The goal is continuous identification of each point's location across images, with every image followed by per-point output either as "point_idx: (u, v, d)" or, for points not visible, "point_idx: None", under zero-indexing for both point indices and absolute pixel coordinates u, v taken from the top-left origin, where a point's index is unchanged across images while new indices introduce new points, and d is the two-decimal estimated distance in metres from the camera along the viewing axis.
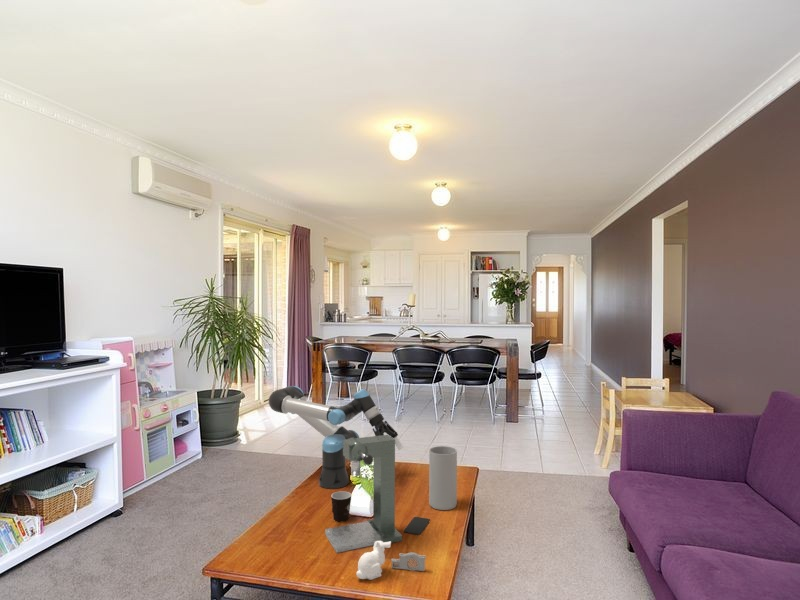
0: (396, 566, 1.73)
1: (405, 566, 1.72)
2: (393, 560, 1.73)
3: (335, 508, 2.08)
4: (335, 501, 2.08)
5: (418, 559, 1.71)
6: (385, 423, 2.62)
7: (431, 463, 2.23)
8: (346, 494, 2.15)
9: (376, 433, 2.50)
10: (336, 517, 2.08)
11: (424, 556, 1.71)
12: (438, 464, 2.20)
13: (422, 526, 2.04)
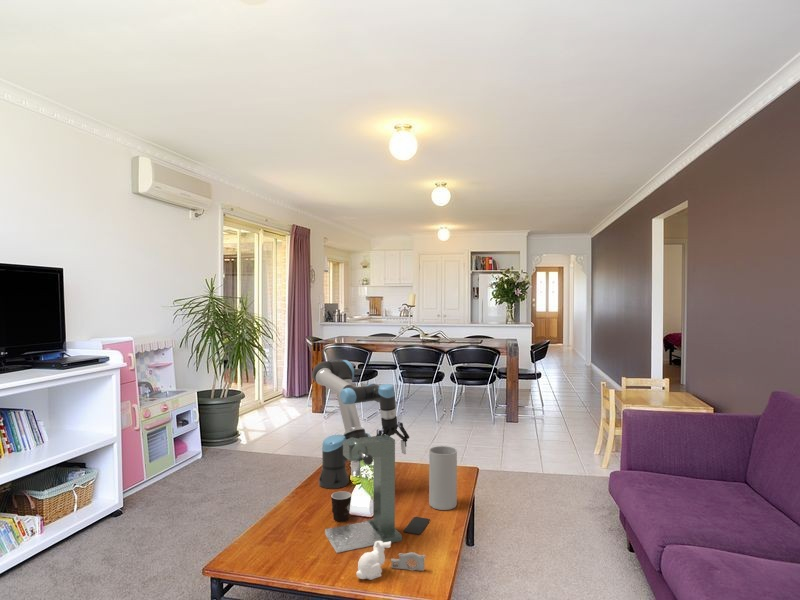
0: (396, 566, 1.73)
1: (405, 566, 1.72)
2: (393, 560, 1.73)
3: (335, 508, 2.08)
4: (335, 501, 2.08)
5: (418, 559, 1.71)
6: (400, 425, 2.42)
7: (431, 463, 2.23)
8: (346, 494, 2.15)
9: None
10: (336, 517, 2.08)
11: (424, 556, 1.71)
12: (438, 464, 2.20)
13: (422, 526, 2.04)
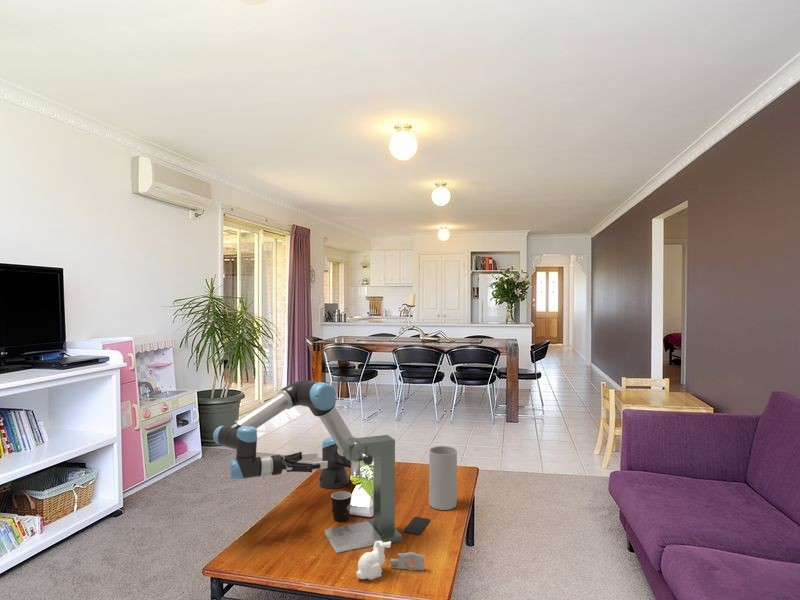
0: (395, 566, 1.73)
1: (404, 566, 1.72)
2: (392, 560, 1.73)
3: (335, 508, 2.08)
4: (335, 501, 2.08)
5: (417, 558, 1.71)
6: None
7: (431, 463, 2.23)
8: (346, 494, 2.15)
9: None
10: (336, 517, 2.08)
11: (423, 555, 1.72)
12: (438, 464, 2.20)
13: (422, 526, 2.04)
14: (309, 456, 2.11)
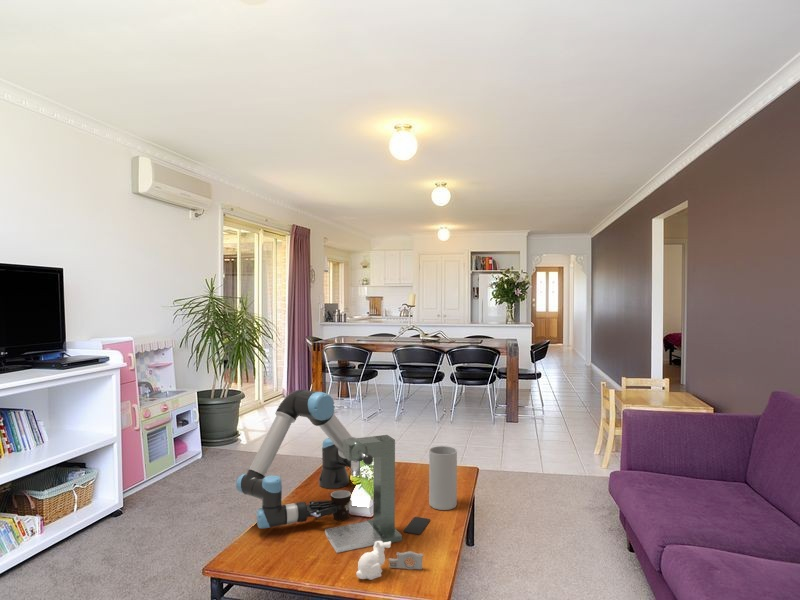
0: (393, 565, 1.73)
1: (403, 565, 1.72)
2: (390, 560, 1.73)
3: None
4: (333, 499, 2.09)
5: (416, 557, 1.72)
6: None
7: (431, 463, 2.23)
8: (347, 493, 2.16)
9: None
10: (335, 515, 2.10)
11: (422, 554, 1.72)
12: (438, 464, 2.20)
13: (422, 526, 2.04)
14: None
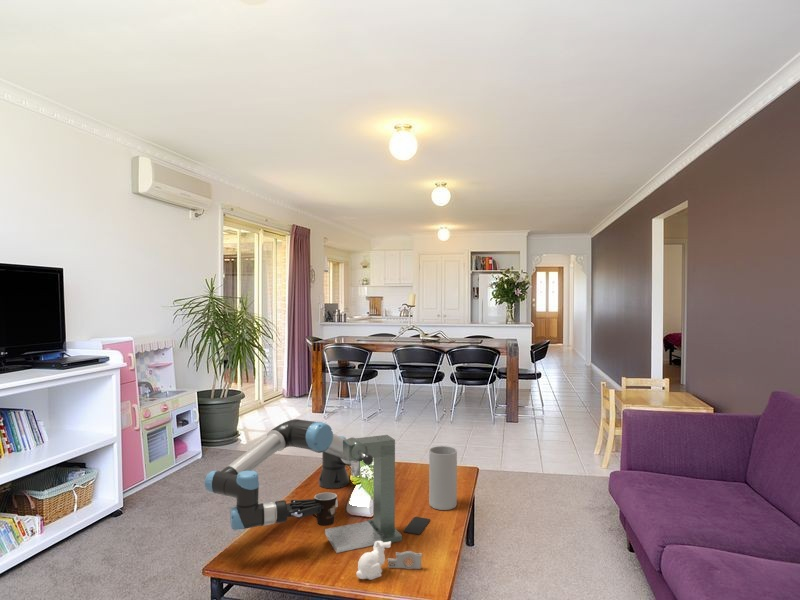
0: (392, 565, 1.73)
1: (402, 565, 1.73)
2: (389, 560, 1.73)
3: None
4: (317, 502, 1.88)
5: (415, 557, 1.72)
6: None
7: (431, 463, 2.23)
8: (333, 496, 1.94)
9: None
10: (318, 520, 1.88)
11: (420, 554, 1.73)
12: (438, 464, 2.20)
13: (422, 526, 2.04)
14: None
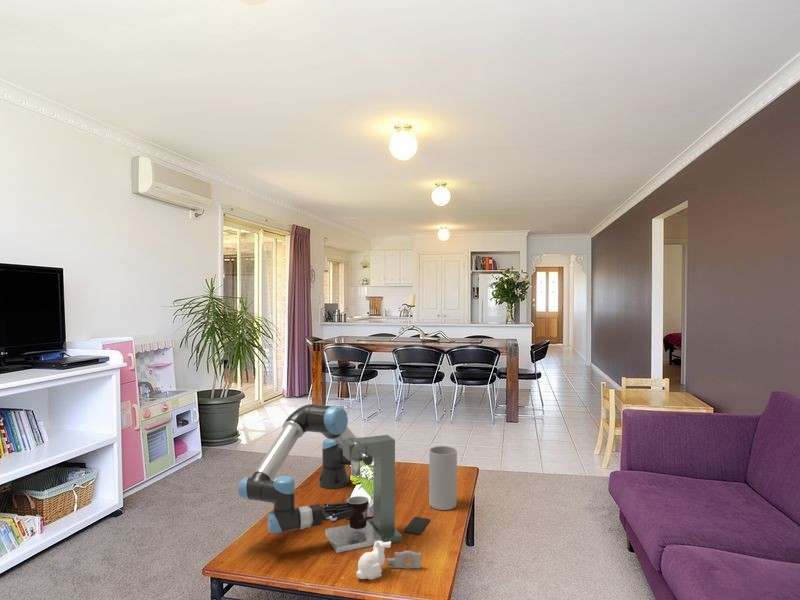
0: (392, 565, 1.73)
1: (401, 565, 1.73)
2: (389, 559, 1.73)
3: None
4: (350, 506, 1.93)
5: (414, 556, 1.73)
6: None
7: (431, 463, 2.23)
8: (364, 499, 1.99)
9: None
10: (351, 523, 1.93)
11: (420, 553, 1.73)
12: (438, 464, 2.20)
13: (422, 526, 2.03)
14: None
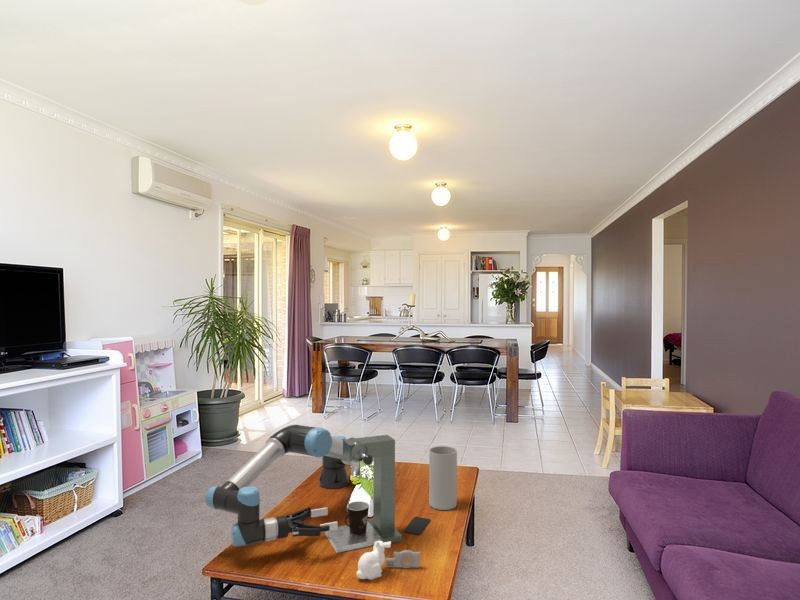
0: (390, 565, 1.73)
1: (400, 564, 1.73)
2: (387, 559, 1.73)
3: (350, 519, 1.93)
4: (350, 512, 1.93)
5: (413, 556, 1.73)
6: None
7: (431, 463, 2.23)
8: (365, 505, 1.99)
9: None
10: (351, 529, 1.93)
11: (418, 553, 1.73)
12: (438, 464, 2.20)
13: (422, 526, 2.03)
14: (319, 512, 1.95)
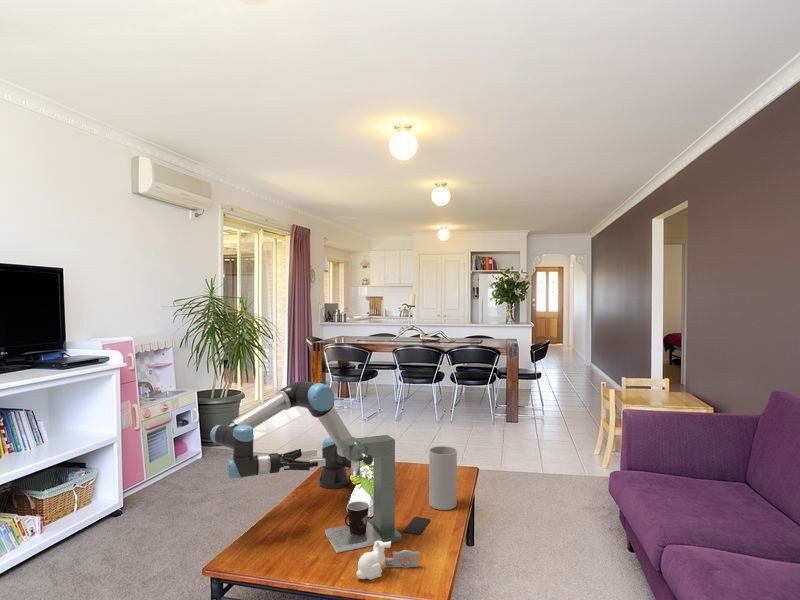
0: (389, 565, 1.73)
1: (399, 564, 1.73)
2: (386, 559, 1.73)
3: (350, 519, 1.93)
4: (350, 512, 1.93)
5: (412, 555, 1.73)
6: None
7: (431, 463, 2.23)
8: (365, 505, 1.99)
9: None
10: (351, 529, 1.93)
11: (417, 552, 1.74)
12: (438, 464, 2.20)
13: (422, 526, 2.03)
14: (308, 453, 2.10)
